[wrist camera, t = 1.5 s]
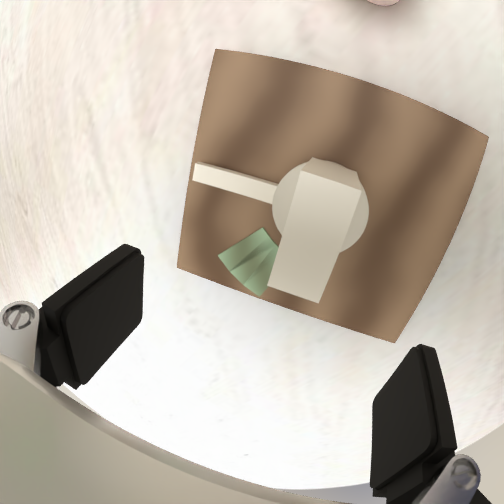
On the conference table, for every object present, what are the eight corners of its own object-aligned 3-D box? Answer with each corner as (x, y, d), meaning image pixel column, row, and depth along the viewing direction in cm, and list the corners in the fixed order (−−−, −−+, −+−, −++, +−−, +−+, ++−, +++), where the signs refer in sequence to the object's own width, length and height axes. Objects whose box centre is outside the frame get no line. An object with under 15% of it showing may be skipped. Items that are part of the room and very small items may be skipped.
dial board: (482, 135, 18) (489, 137, 16) (393, 335, 27) (394, 344, 26) (221, 51, 21) (214, 48, 20) (182, 262, 30) (175, 268, 29)
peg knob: (380, 178, 20) (396, 203, 14) (349, 262, 24) (348, 313, 17) (206, 127, 22) (156, 133, 16) (192, 209, 26) (145, 240, 19)
